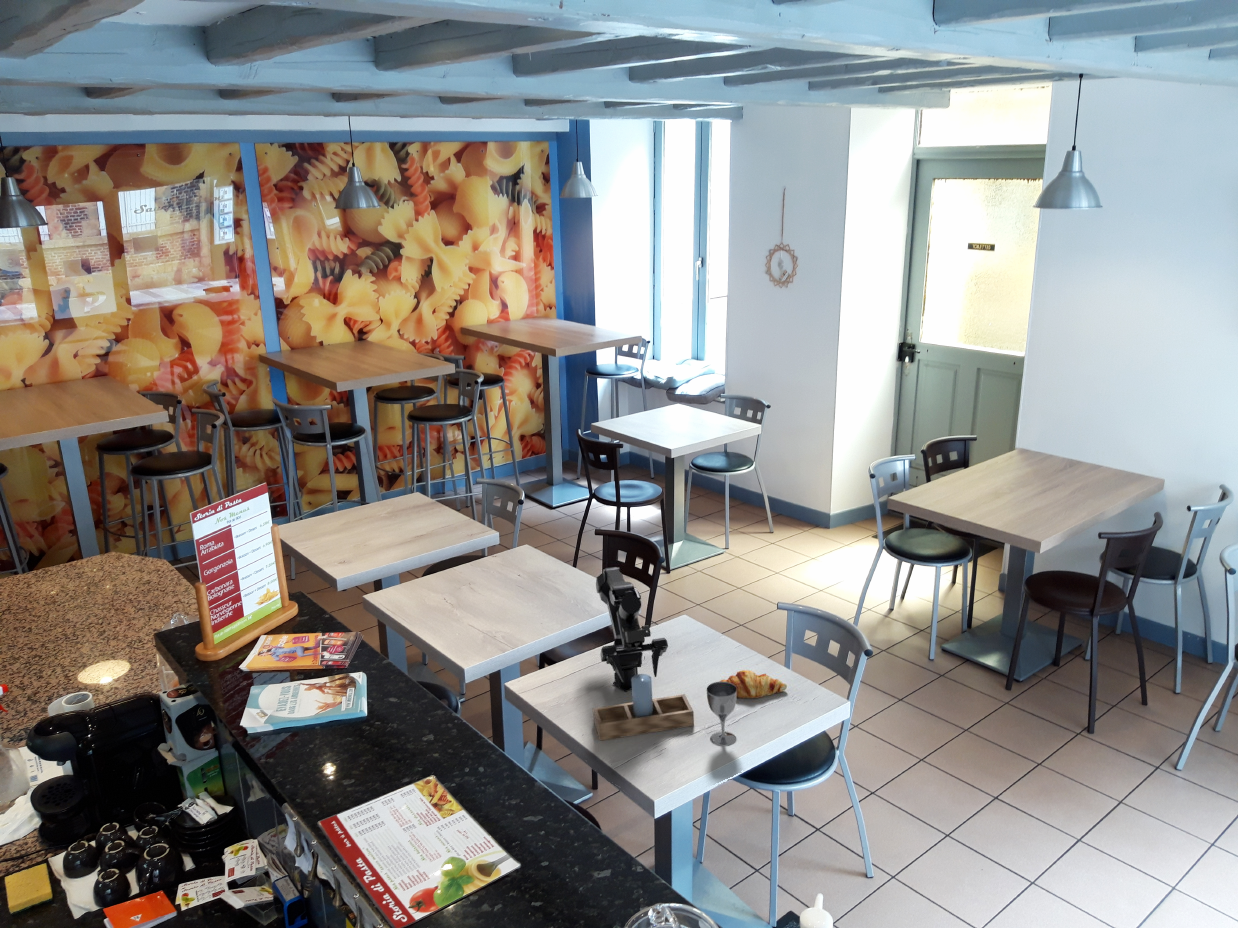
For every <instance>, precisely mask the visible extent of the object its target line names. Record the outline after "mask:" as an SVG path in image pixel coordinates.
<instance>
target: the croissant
mask: <svg viewBox="0 0 1238 928" xmlns="http://www.w3.org/2000/svg"><path fill="white" fill-rule="evenodd" d="M718 682H729V683H732V684H733V685H735V686H736V688H737V698H739V699H758V698H762V697H766V696H771V695H773V694H775V693H776V694H777V693H782V692H784V691H785V690H786V689H787V687H788V685H787V684H786V683H783V681H781V680H779V678H776V679H774V678H773V677H770V676H769V675H768V674H766V673H762V674H756V672H755V671H752V670H748V669H747V670H746V669H745V670H744V669H743V670H739V671H737V672H736V674H735V675H730V676H729V677H728V678H727V679H721V680H720V681H718Z"/></svg>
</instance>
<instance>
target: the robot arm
mask: <svg viewBox="0 0 1238 928" xmlns="http://www.w3.org/2000/svg"><path fill="white" fill-rule="evenodd" d="M595 587H596V593H597V594H599V598H600V601H602V602H603V603H604V604H605V605H606V606H607V610H608V615H609V618H610V622H611V626H612V627H611V628H612V630H613V631H612V632H613V636H614V640H613V641H614V642H613V644H611V645H605V646H602V647H601V650H600V655H599V656H600V660H601V662H603V663H604V662H606V663H605V664H606V665H611V667H612V670H613V672H614V673H613V674H614V681H613V682H612V684H613V685H614V686H615V687H617V688H619V689H621V690H622V691H624V692H628V691H629V690H632V681H631V679H632V677H633V676H635V675H638V674H639V672H638V671H639V670H638V669H639V668H641V667H642V664H643V654H644V652H649V651H651V664H652V670H653V672H652V673H653V676H654V678H656V677H657V676H658V675H657V673H658V666H659V659H660V657H662V656H663V654H664V653H666V652H667V650H668V648H669V642H668V640H667V639H666V638H665V637H659V638H653V639H652V640H651V643H650V642H649V643H645V638H648V637H651V635H652V633H651V630H650V625H649V624H648V625H641V627H640V621H639V615H640V611H641V608H642V600H641V599H642V596H641V594H640V592H639V591H638V589H637V588H636V586H634V584H633V583H632V582H630V581H625V579H624V576H623V573H622V572H621V570H620V567H617V566H614V567H613V566H612V567H606V568H604V569H602V573H600V574H599V575H598V576H596V582H595Z"/></svg>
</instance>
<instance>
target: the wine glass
mask: <svg viewBox="0 0 1238 928" xmlns="http://www.w3.org/2000/svg"><path fill="white" fill-rule="evenodd" d="M737 698H738V697H737V688H736V686H735V685H733V684H732V683H729V682H719V681H715V682H712V683H710V684H708V685H707V686H706V699H707V703H708V707H709V708H710V711H711V712H712V713H713V714H714V715H715V716H716V717H717V718H718V720H719V721H720V725H721V728H720V729H721V730H720V731H716V732H714V733H712V734H711V735H710V737H709V740H710V742H711V744H713V745H716V746H719V747H729V746H732V745H734V744H735V743H736V742H737V741H738V740H737V739H738V738H737V735H736V734H734V733H733V732H731V731H727V730H726V731H725V726H726V725H725V723H726V720H727V717H729V716H730V715H731V714H732V713H733V711H734V710H735V708H736V704H737Z"/></svg>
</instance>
